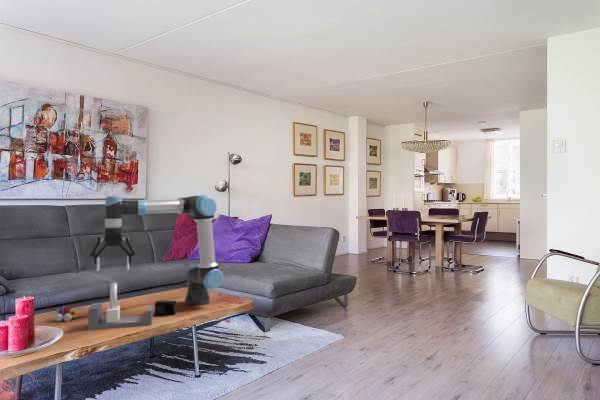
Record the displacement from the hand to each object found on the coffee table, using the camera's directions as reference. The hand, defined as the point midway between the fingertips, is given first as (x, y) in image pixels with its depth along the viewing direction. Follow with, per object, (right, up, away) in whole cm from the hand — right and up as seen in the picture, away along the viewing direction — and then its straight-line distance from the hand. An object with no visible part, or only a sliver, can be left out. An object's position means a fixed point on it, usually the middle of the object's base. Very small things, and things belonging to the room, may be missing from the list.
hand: (113, 270), depth 203 cm
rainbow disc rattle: (-29, -27, +9) cm, 41 cm away
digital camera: (+20, -27, +18) cm, 38 cm away
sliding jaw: (0, -24, -1) cm, 25 cm away
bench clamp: (+4, -27, +1) cm, 27 cm away
